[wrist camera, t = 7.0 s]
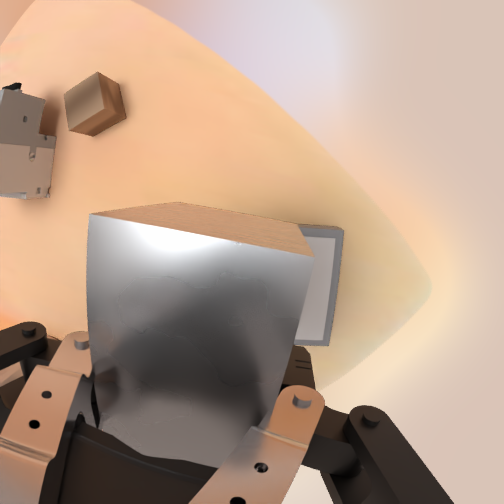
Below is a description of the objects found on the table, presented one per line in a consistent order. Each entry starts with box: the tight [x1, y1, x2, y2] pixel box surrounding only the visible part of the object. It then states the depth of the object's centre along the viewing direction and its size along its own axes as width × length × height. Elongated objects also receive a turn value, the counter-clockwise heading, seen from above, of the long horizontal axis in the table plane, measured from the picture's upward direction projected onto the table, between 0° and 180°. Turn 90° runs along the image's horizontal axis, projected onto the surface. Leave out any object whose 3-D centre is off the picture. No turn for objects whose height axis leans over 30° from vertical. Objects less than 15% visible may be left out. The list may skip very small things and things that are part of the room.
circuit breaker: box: [0, 83, 56, 199], centre depth 23 cm, size 8×14×15 cm, turn 172°
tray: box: [294, 224, 344, 346], centre depth 29 cm, size 12×12×3 cm
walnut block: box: [64, 72, 126, 136], centre depth 26 cm, size 5×5×5 cm
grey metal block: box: [87, 202, 315, 468], centre depth 9 cm, size 5×10×6 cm, turn 170°
